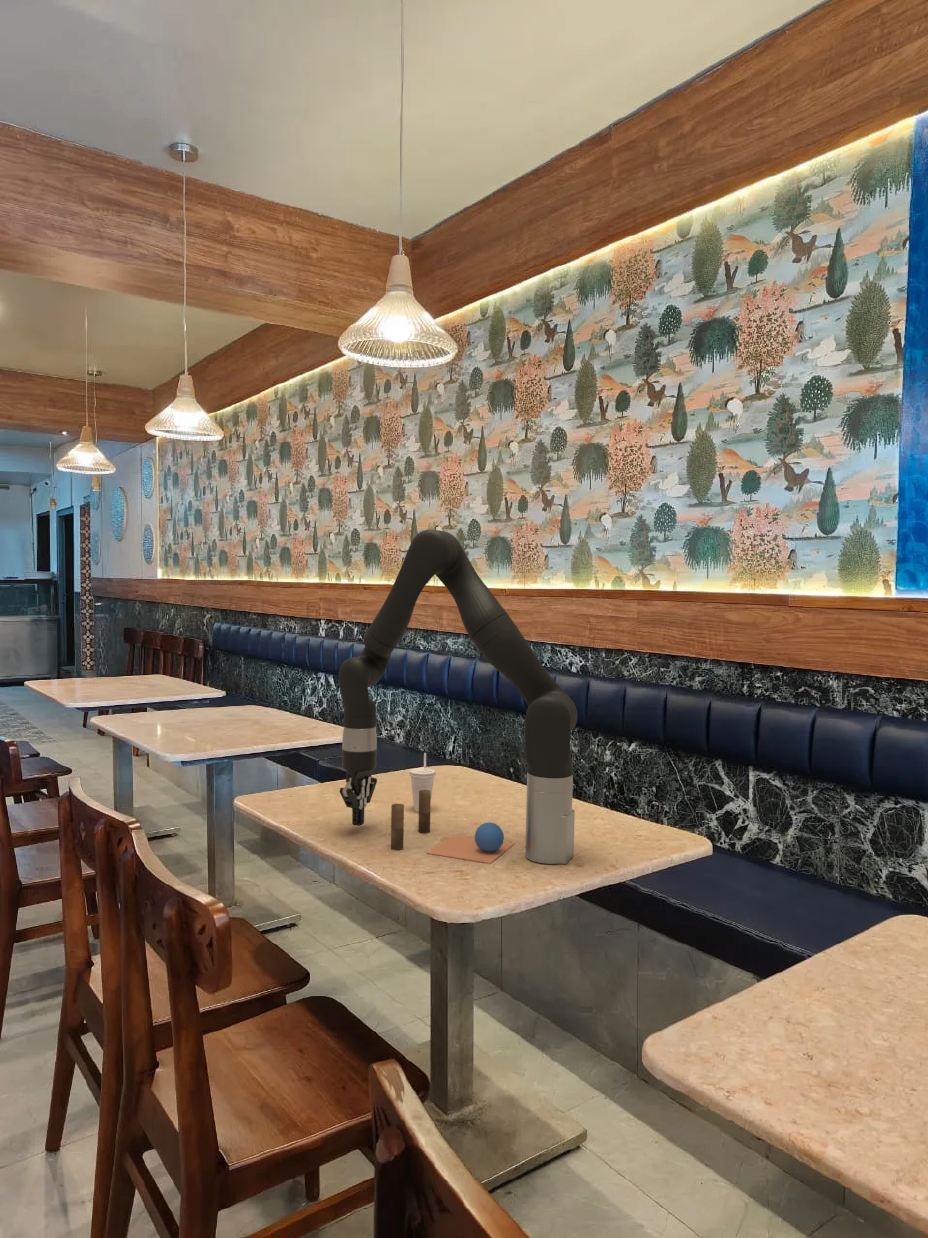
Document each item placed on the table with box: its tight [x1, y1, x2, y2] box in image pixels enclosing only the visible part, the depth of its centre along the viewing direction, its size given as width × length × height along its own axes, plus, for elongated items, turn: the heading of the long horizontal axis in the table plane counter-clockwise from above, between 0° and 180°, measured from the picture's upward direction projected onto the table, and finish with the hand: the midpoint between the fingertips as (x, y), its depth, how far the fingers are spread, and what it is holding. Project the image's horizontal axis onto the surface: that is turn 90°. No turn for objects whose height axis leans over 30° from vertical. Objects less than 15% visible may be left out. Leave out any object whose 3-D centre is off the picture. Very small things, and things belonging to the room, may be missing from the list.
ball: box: [474, 821, 505, 852], centre depth 175 cm, size 6×6×6 cm
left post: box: [390, 803, 405, 851], centre depth 176 cm, size 3×3×9 cm
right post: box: [417, 790, 432, 834], centre depth 188 cm, size 3×3×9 cm
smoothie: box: [409, 752, 437, 813], centre depth 206 cm, size 6×6×14 cm
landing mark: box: [426, 833, 515, 865], centre depth 177 cm, size 14×14×1 cm
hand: (358, 824), depth 188 cm, fingers closed
